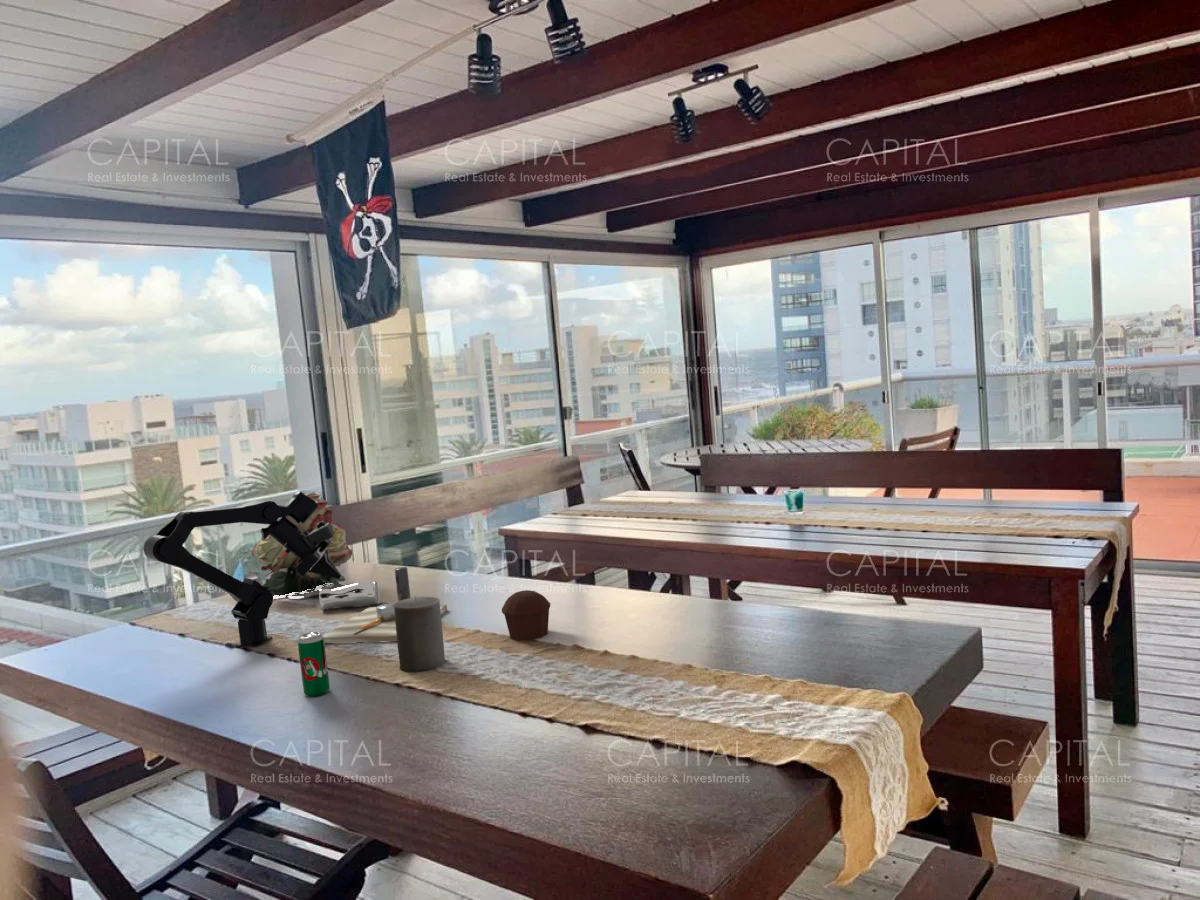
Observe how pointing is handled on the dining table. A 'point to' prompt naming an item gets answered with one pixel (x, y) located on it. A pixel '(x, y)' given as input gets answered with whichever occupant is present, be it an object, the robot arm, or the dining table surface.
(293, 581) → the rose bouquet
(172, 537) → the robot arm
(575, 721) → the dining table surface
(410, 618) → the pillar candle
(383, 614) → the cam lever
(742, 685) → the dining table surface
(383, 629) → the dial board
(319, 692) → the soda can
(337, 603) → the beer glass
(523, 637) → the muffin
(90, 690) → the dining table surface
